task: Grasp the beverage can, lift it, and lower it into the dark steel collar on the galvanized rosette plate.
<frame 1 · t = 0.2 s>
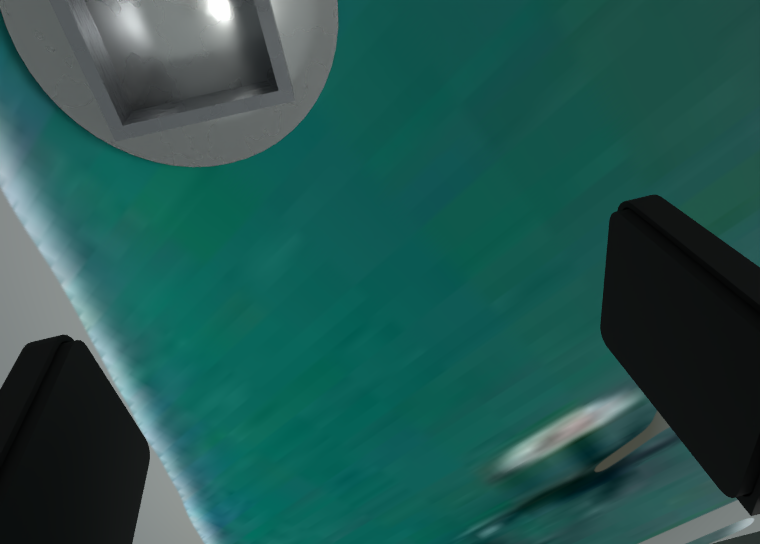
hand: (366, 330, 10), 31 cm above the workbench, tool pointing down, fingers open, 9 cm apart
rosette plate: (180, 12, 33), on the workbench
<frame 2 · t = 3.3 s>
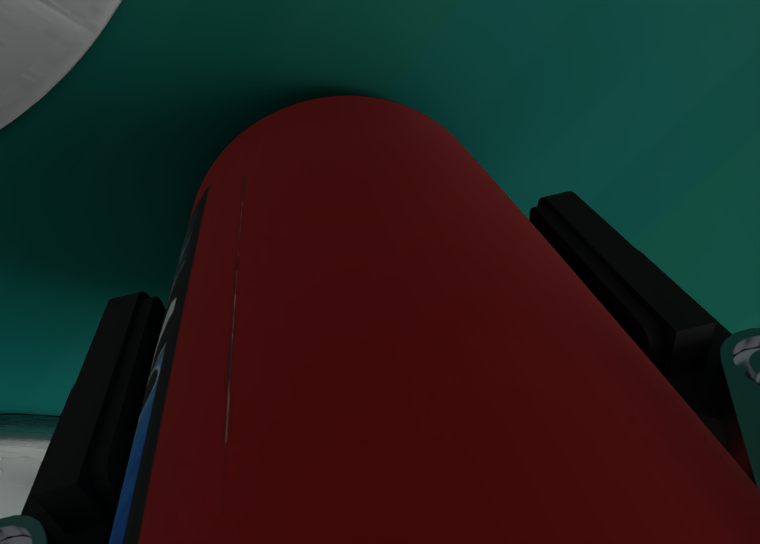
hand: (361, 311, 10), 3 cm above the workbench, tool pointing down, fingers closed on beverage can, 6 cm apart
beverage can: (340, 223, 13), on the workbench, touching gripper
when the fingers open (6 cm above the workbench, at t = 9.9 s): beverage can drops 1 cm, resting on rosette plate.
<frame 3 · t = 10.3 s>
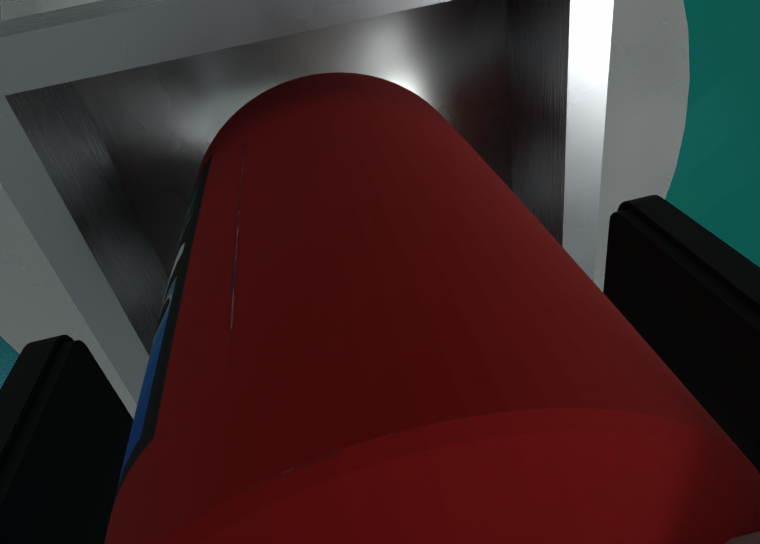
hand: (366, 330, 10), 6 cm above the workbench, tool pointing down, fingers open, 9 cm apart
rosette plate: (331, 186, 15), on the workbench
beverage can: (334, 196, 14), point 1 cm above the workbench, touching rosette plate
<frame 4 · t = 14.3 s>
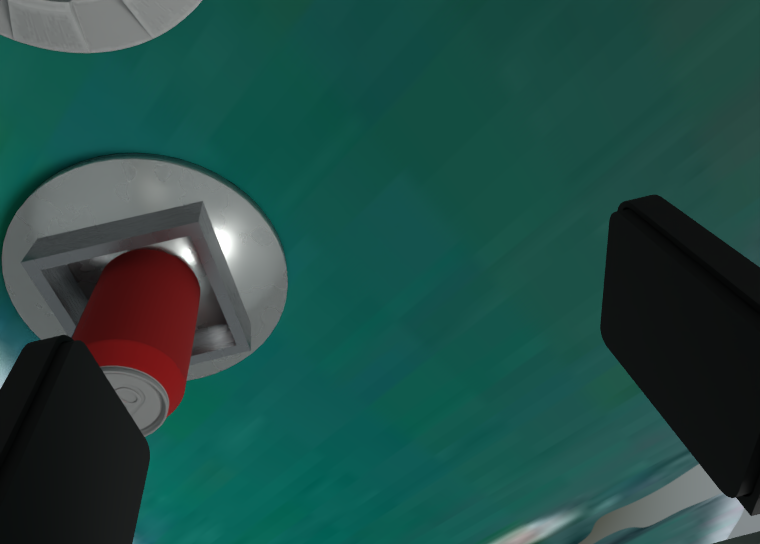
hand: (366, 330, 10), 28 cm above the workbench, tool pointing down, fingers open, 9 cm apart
rosette plate: (156, 276, 40), on the workbench
beverage can: (153, 282, 39), point 1 cm above the workbench, touching rosette plate
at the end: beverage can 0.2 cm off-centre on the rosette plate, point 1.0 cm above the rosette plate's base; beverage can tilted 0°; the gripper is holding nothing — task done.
